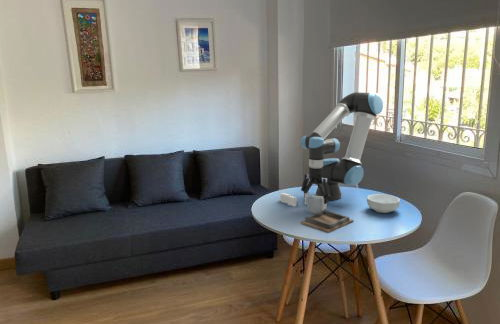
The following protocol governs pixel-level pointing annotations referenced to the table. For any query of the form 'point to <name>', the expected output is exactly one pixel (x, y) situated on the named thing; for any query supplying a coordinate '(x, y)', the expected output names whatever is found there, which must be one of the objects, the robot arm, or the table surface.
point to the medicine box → (314, 204)
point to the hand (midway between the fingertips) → (315, 206)
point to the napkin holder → (288, 199)
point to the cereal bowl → (383, 203)
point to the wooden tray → (326, 221)
